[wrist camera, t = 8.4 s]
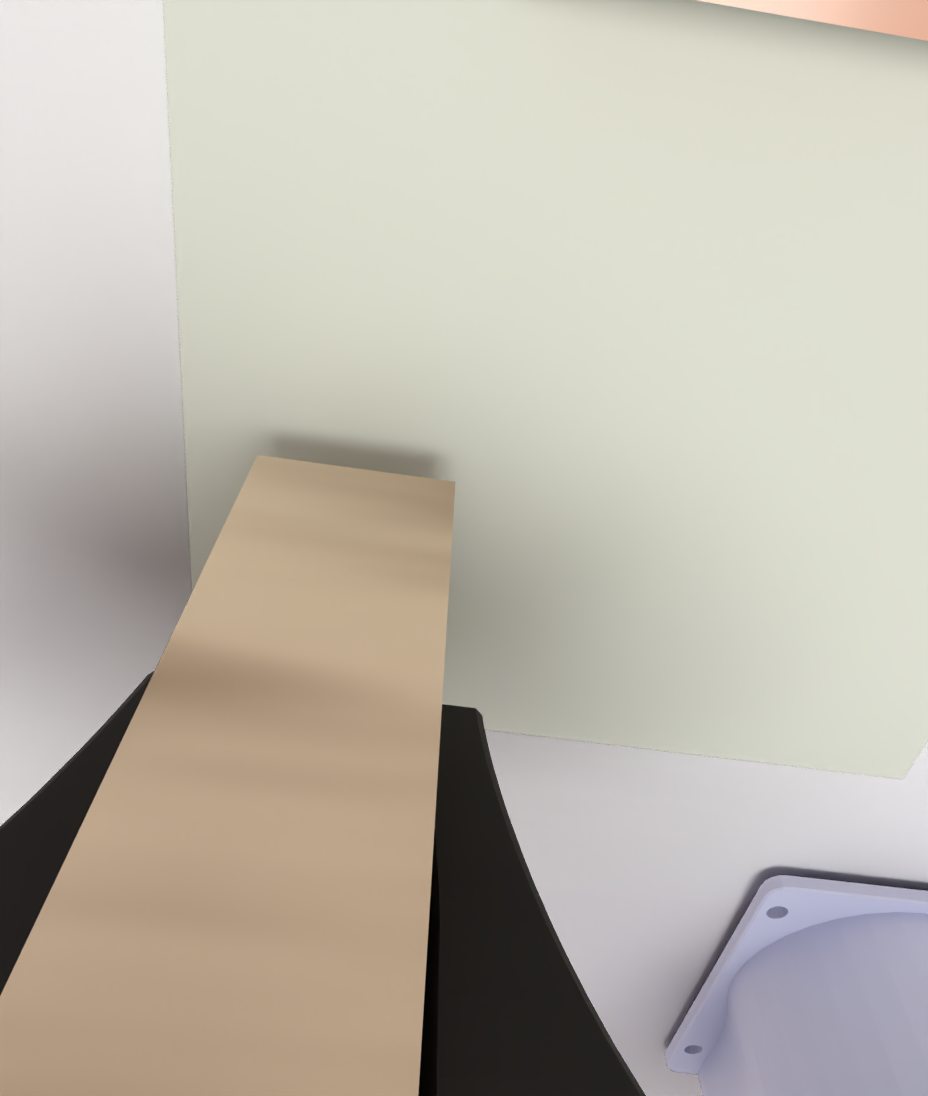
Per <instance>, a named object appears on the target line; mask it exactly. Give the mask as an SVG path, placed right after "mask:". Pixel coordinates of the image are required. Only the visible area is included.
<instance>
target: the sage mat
mask: <svg viewBox="0 0 928 1096" xmlns="http://www.w3.org/2000/svg"><path fill="white" fill-rule="evenodd" d="M163 17H164V38H165V58H166V78H167V99H168V119H169V139H170V159H171V180H172V200H173V220H174V240H175V261H176V281H177V301H178V321H179V342H180V362H181V382H182V403H183V423H184V443H185V463H186V484H187V504H188V524H189V544H190V565H191V585H192V591H193V589H194V587H195V585H196V583H197V581H198V579H199V577H200V575H201V573H202V570H203V568H204V566H205V564H206V562H207V560H208V558H209V556H210V554H211V551H212V549H213V547H214V545H215V543H216V541H217V539H218V537H219V535H220V533H221V530H222V528H223V526H224V524H225V522H226V520H227V518H228V516H229V514H230V511H231V509H232V507H233V505H234V503H235V501H236V499H237V497H238V495H239V493H240V490H241V488H242V486H243V484H244V482H245V480H246V478H247V476H248V474H249V472H250V469H251V467H252V465H253V463H254V461H255V459H256V457H257V455H261V456H269V457H276V458H284V459H291V460H298V461H306V462H313V463H321V464H328V465H335V466H343V467H350V468H358V469H365V470H372V471H380V472H387V473H394V474H402V475H409V476H417V477H424V478H431V479H439V480H446V481H454V482H455V498H454V515H453V531H452V548H451V564H450V581H449V597H448V614H447V630H446V647H445V663H444V680H443V696H442V704H446V705H454V706H462V707H471V708H476V709H477V710H478V711H479V712H480V713H481V714H482V716H483V723H484V729H485V730H490V731H498V732H507V733H515V734H523V735H532V736H540V737H549V738H557V739H565V740H574V741H582V742H591V743H599V744H607V745H616V746H624V747H633V748H641V749H649V750H658V751H666V752H675V753H683V754H691V755H700V756H708V757H717V758H725V759H733V760H742V761H750V762H759V763H767V764H775V765H784V766H792V767H801V768H809V769H817V770H826V771H834V772H843V773H851V774H859V775H868V776H876V777H885V778H893V779H901V780H903V778H904V777H905V775H906V774H907V772H908V771H909V769H910V768H911V766H912V765H913V763H914V762H915V760H916V759H917V757H918V756H919V754H920V752H921V751H922V749H923V748H924V746H925V745H926V743H927V742H928V41H924V40H918V39H913V38H907V37H901V36H895V35H890V34H884V33H878V32H873V31H867V30H861V29H855V28H850V27H844V26H838V25H833V24H827V23H821V22H815V21H810V20H804V19H798V18H792V17H787V16H781V15H775V14H770V13H764V12H758V11H752V10H747V9H741V8H735V7H729V6H724V5H718V4H712V3H707V2H701V1H695V0H163Z"/></svg>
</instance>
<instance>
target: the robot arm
mask: <svg viewBox="0 0 928 1096" xmlns="http://www.w3.org/2000/svg"><path fill="white" fill-rule="evenodd" d="M153 674H154V671H153V672H152V673H150V674H149V675H147V677H146V678H145V679H144V680H143V681H142V682H141V684H140V685H139V686H138V687H137V688H136V689H135V690H134V692H133V693H132V694H131V695H130V696H129V697H128V698H127V699H126V701H125V702H124V703H123V704H122V705H121V706H120V707H119V708H118V709H117V711H116V712H115V713H114V714H113V715H112V716H111V717H110V718H109V719H108V720H107V721H106V723H105V724H104V725H103V726H102V727H101V728H100V729H99V730H98V731H97V732H96V733H95V734H94V735H93V736H92V737H91V738H90V740H89V741H88V742H87V743H86V744H85V745H84V746H83V747H82V748H81V749H80V750H79V751H78V752H77V753H76V754H75V755H74V756H73V757H72V758H71V759H70V760H69V761H68V762H67V763H66V764H65V765H64V766H63V767H62V768H61V769H60V770H59V771H58V772H57V773H56V774H55V775H54V776H53V777H52V778H51V779H50V780H49V781H48V782H47V783H46V784H45V785H44V786H43V787H42V788H41V789H40V790H39V791H38V792H37V793H36V794H35V795H34V796H33V797H32V798H31V799H30V800H29V801H28V802H27V803H26V804H24V805H23V806H22V807H21V808H20V809H19V810H18V811H17V812H16V813H15V814H13V815H12V816H11V817H10V818H9V819H8V820H7V821H6V822H5V823H4V824H3V825H1V826H0V996H1V994H2V991H3V989H4V987H5V985H6V983H7V981H8V979H9V977H10V975H11V972H12V970H13V968H14V966H15V964H16V962H17V960H18V958H19V956H20V954H21V951H22V949H23V947H24V945H25V943H26V941H27V939H28V937H29V935H30V932H31V930H32V928H33V926H34V924H35V922H36V920H37V918H38V916H39V914H40V911H41V909H42V907H43V905H44V903H45V901H46V899H47V897H48V895H49V892H50V890H51V888H52V886H53V884H54V882H55V880H56V878H57V876H58V874H59V871H60V869H61V867H62V865H63V863H64V861H65V859H66V857H67V855H68V852H69V850H70V848H71V846H72V844H73V842H74V840H75V838H76V836H77V834H78V831H79V829H80V827H81V825H82V823H83V821H84V819H85V817H86V815H87V812H88V810H89V808H90V806H91V804H92V802H93V800H94V798H95V796H96V794H97V791H98V789H99V787H100V785H101V783H102V781H103V779H104V777H105V775H106V772H107V770H108V768H109V766H110V764H111V762H112V760H113V758H114V756H115V754H116V751H117V749H118V747H119V745H120V743H121V741H122V739H123V737H124V735H125V733H126V730H127V728H128V726H129V724H130V722H131V720H132V718H133V716H134V714H135V711H136V709H137V707H138V705H139V703H140V701H141V699H142V697H143V695H144V693H145V690H146V688H147V686H148V684H149V682H150V680H151V678H152V676H153ZM665 1060H666V1066H667V1067H668V1068H669V1069H670V1070H672V1071H674V1072H678V1073H688V1074H698V1076H699V1082H700V1087H701V1092H702V1096H928V891H925V890H916V889H907V888H898V887H889V886H880V885H871V884H862V883H853V882H844V881H835V880H826V879H817V878H808V877H799V876H790V875H778V876H774V877H771V878H769V879H767V880H765V881H764V883H763V884H762V885H761V886H760V888H759V889H758V891H757V893H756V895H755V896H754V898H753V900H752V902H751V903H750V905H749V907H748V909H747V910H746V912H745V914H744V916H743V917H742V919H741V921H740V922H739V924H738V926H737V928H736V929H735V931H734V933H733V935H732V936H731V938H730V940H729V942H728V943H727V945H726V947H725V949H724V950H723V952H722V954H721V956H720V957H719V959H718V961H717V962H716V964H715V966H714V968H713V969H712V971H711V973H710V975H709V976H708V978H707V980H706V982H705V983H704V985H703V987H702V989H701V990H700V992H699V994H698V996H697V997H696V999H695V1001H694V1003H693V1004H692V1006H691V1008H690V1009H689V1011H688V1013H687V1015H686V1016H685V1018H684V1020H683V1022H682V1023H681V1025H680V1027H679V1029H678V1030H677V1032H676V1034H675V1036H674V1037H673V1039H672V1041H671V1043H670V1044H669V1046H668V1048H667V1050H666V1051H665ZM418 1096H646V1095H645V1094H644V1092H643V1090H642V1089H641V1087H640V1086H639V1084H638V1082H637V1081H636V1079H635V1077H634V1076H633V1074H632V1073H631V1071H630V1069H629V1068H628V1066H627V1064H626V1063H625V1061H624V1060H623V1058H622V1056H621V1055H620V1053H619V1051H618V1050H617V1048H616V1047H615V1045H614V1043H613V1041H612V1040H611V1038H610V1036H609V1034H608V1032H607V1031H606V1029H605V1027H604V1025H603V1023H602V1021H601V1020H600V1018H599V1016H598V1014H597V1012H596V1011H595V1009H594V1007H593V1005H592V1003H591V1002H590V1000H589V998H588V996H587V994H586V992H585V990H584V988H583V986H582V984H581V982H580V980H579V979H578V977H577V975H576V973H575V971H574V969H573V967H572V965H571V963H570V961H569V959H568V957H567V955H566V953H565V951H564V949H563V947H562V945H561V942H560V940H559V938H558V936H557V934H556V932H555V930H554V927H553V925H552V923H551V921H550V919H549V916H548V914H547V912H546V910H545V907H544V905H543V903H542V900H541V898H540V896H539V893H538V891H537V889H536V887H535V884H534V882H533V879H532V877H531V874H530V872H529V869H528V867H527V864H526V862H525V859H524V857H523V854H522V851H521V849H520V846H519V843H518V840H517V838H516V835H515V832H514V829H513V827H512V824H511V821H510V819H509V816H508V813H507V810H506V807H505V804H504V801H503V798H502V794H501V791H500V788H499V784H498V781H497V778H496V774H495V771H494V767H493V764H492V760H491V756H490V752H489V748H488V744H487V739H486V734H485V729H484V723H483V716H482V714H481V713H480V712H479V711H478V710H477V709H476V708H471V707H462V706H454V705H446V704H442V713H441V730H440V746H439V763H438V779H437V796H436V812H435V829H434V845H433V862H432V878H431V895H430V911H429V928H428V944H427V961H426V978H425V994H424V1011H423V1027H422V1044H421V1060H420V1077H419V1093H418Z"/></svg>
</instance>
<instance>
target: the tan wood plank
mask: <svg viewBox="0 0 928 1096" xmlns="http://www.w3.org/2000/svg"><path fill="white" fill-rule="evenodd" d="M454 498H455V482H454V481H446V480H439V479H431V478H424V477H417V476H409V475H402V474H394V473H387V472H380V471H372V470H365V469H358V468H350V467H343V466H335V465H328V464H321V463H313V462H306V461H298V460H291V459H284V458H276V457H269V456H261V455H257V457H256V459H255V461H254V463H253V465H252V467H251V469H250V472H249V474H248V476H247V478H246V480H245V482H244V484H243V486H242V488H241V490H240V493H239V495H238V497H237V499H236V501H235V503H234V505H233V507H232V509H231V511H230V514H229V516H228V518H227V520H226V522H225V524H224V526H223V528H222V530H221V533H220V535H219V537H218V539H217V541H216V543H215V545H214V547H213V549H212V551H211V554H210V556H209V558H208V560H207V562H206V564H205V566H204V568H203V570H202V573H201V575H200V577H199V579H198V581H197V583H196V585H195V587H194V589H193V591H192V594H191V596H190V598H189V600H188V602H187V604H186V606H185V608H184V610H183V613H182V615H181V617H180V619H179V621H178V623H177V625H176V627H175V629H174V631H173V634H172V636H171V638H170V640H169V642H168V644H167V646H166V648H165V650H164V653H163V655H162V657H161V659H160V661H159V663H158V665H157V667H156V669H155V671H154V674H153V676H152V678H151V680H150V682H149V684H148V686H147V688H146V690H145V693H144V695H143V697H142V699H141V701H140V703H139V705H138V707H137V709H136V711H135V714H134V716H133V718H132V720H131V722H130V724H129V726H128V728H127V730H126V733H125V735H124V737H123V739H122V741H121V743H120V745H119V747H118V749H117V751H116V754H115V756H114V758H113V760H112V762H111V764H110V766H109V768H108V770H107V772H106V775H105V777H104V779H103V781H102V783H101V785H100V787H99V789H98V791H97V794H96V796H95V798H94V800H93V802H92V804H91V806H90V808H89V810H88V812H87V815H86V817H85V819H84V821H83V823H82V825H81V827H80V829H79V831H78V834H77V836H76V838H75V840H74V842H73V844H72V846H71V848H70V850H69V852H68V855H67V857H66V859H65V861H64V863H63V865H62V867H61V869H60V871H59V874H58V876H57V878H56V880H55V882H54V884H53V886H52V888H51V890H50V892H49V895H48V897H47V899H46V901H45V903H44V905H43V907H42V909H41V911H40V914H39V916H38V918H37V920H36V922H35V924H34V926H33V928H32V930H31V932H30V935H29V937H28V939H27V941H26V943H25V945H24V947H23V949H22V951H21V954H20V956H19V958H18V960H17V962H16V964H15V966H14V968H13V970H12V972H11V975H10V977H9V979H8V981H7V983H6V985H5V987H4V989H3V991H2V994H1V996H0V1096H418V1093H419V1077H420V1060H421V1044H422V1027H423V1011H424V994H425V978H426V961H427V944H428V928H429V911H430V895H431V878H432V862H433V845H434V829H435V812H436V796H437V779H438V763H439V746H440V730H441V713H442V696H443V680H444V663H445V647H446V630H447V614H448V597H449V581H450V564H451V548H452V531H453V515H454Z"/></svg>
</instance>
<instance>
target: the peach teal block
mask: <svg viewBox="0 0 928 1096" xmlns="http://www.w3.org/2000/svg"><path fill="white" fill-rule="evenodd" d="M695 1H701V2H707V3H712V4H718V5H724V6H729V7H735V8H741V9H747V10H752V11H758V12H764V13H770V14H775V15H781V16H787V17H792V18H798V19H804V20H810V21H815V22H821V23H827V24H833V25H838V26H844V27H850V28H855V29H861V30H867V31H873V32H878V33H884V34H890V35H895V36H901V37H907V38H913V39H918V40H924V41H928V0H695Z"/></svg>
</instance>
